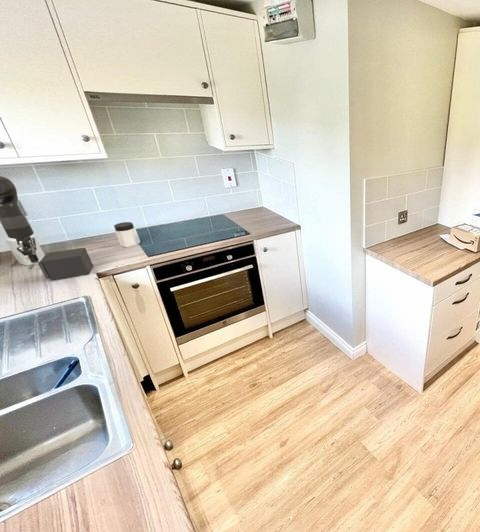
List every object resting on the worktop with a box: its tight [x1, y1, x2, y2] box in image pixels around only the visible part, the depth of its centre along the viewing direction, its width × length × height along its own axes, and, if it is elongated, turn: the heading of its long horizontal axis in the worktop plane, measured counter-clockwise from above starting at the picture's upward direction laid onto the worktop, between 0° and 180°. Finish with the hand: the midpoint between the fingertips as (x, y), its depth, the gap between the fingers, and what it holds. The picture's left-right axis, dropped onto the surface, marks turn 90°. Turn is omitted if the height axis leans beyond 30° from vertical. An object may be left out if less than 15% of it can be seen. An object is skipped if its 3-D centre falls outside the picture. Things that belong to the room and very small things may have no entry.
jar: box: [113, 221, 141, 248], centre depth 180 cm, size 9×8×12 cm
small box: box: [5, 234, 46, 267], centre depth 158 cm, size 8×6×13 cm
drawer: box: [25, 255, 51, 280], centre depth 148 cm, size 17×10×8 cm, turn 122°
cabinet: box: [42, 247, 94, 282], centre depth 150 cm, size 13×11×10 cm
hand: (35, 261), depth 144 cm, fingers closed
